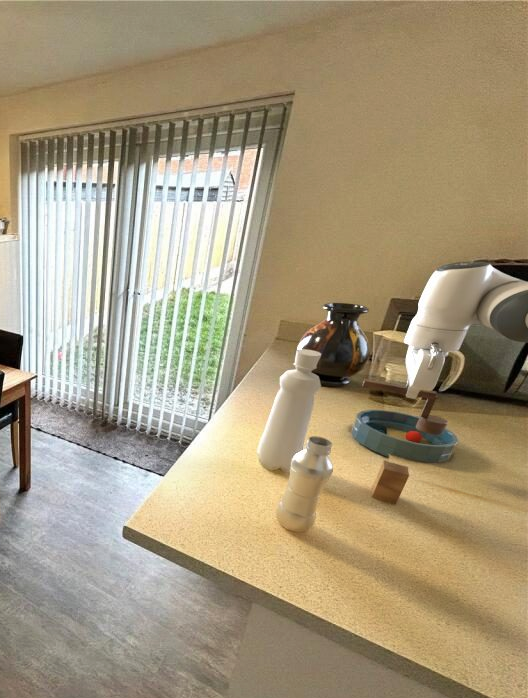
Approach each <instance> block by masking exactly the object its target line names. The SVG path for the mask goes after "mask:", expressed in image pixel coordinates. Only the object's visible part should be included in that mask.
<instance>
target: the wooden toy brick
mask: <svg viewBox="0 0 528 698" xmlns="http://www.w3.org/2000/svg"><path fill="white" fill-rule="evenodd" d="M409 477H410V472H409V467H408V466H406V465H402V464H399V463H395V462H391V461H388V460H384V459H383V460H382V463H381V465H380V468H379V470H378V472H377V474H376V477H375V479H374V481H373V484H372V486H371V498H373V499H376V500H380V501H383V502H386V503H389V504H392V505H397V504H398V501H399V499H400V497H401V494H402V492H403V491H404V489H405V486H406V484H407V481H408V479H409Z"/></svg>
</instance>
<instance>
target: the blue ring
mask: <svg viewBox="0 0 528 698" xmlns="http://www.w3.org/2000/svg"><path fill="white" fill-rule="evenodd" d="M419 417H420V416H415V415H412V414H409V413H404V412H400V411H395V410H387V409H364V410H361V411H359V412H358V413H356V416H355V418H354V420H353V424H352V426H351V429H350V436H352V438H353V439H354V440H355V441H356V442H358V443H359V444H360V445H362V446H364V447H365V448H367V449H369V450H371V451H372V452H375V453H377V454H380V455H381V456H384V457H388V458H390V456H393V457H397V458H401V459H405V460H407V461H415V462H421V463H441V462H446V461H448V460H449V459H450V458H451V457H452V455H453V453H454V451H455V449H456V447H457V446H458V443H459V438H458V436H457V435H456V434H454V433H453V431H451V429H448V428H447V427H446V428H445V430H444V432H443V434H442V435H433V434H428V433H425V432H422V431H420V430H418V429H417V428H416V424H417V422H418V420H419ZM387 429H392V430H395V431H399V432H403V433H408V432H410V431H416V432H419V433H420V434H421V435H422V440H425V441H426V442H427V443H430V444H426V443H420V442H417V443H416V442H411V441H408V440H407V439H401V438H398V437H395V436H392V435H388V430H387Z"/></svg>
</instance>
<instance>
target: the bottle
mask: <svg viewBox="0 0 528 698" xmlns="http://www.w3.org/2000/svg"><path fill="white" fill-rule="evenodd" d="M320 357H321V353H319V352H316V351H313V350H306V349H300V350H297V352H296V358H294V362H293V363H292V365H293V366H294V367H295V369H288V370H286V371H285V372H284V373H283V374H282V375H281V376H280V377H279V387H280V389H279V390H278V391H277V393H276V396H275V398H274V401H273V404H272V407H271V410H270V413H269V416H268V418H267V422H266V425H265V428H264V431H263V433H262V435H261V437H260V438H259V443H258V446H257V450H256V455H257V459H258V462H259V464H260V466H262V467H263V468H264V469H266V470H268V471H270V472H271V471H274V470H277V469H280V470H281V471H282V472H283V473H284V474H290V468H291V461H292V458H293V457H294V456H295V455H296V454H297V453H299V452H300V451H302V450H304V446H305V445H304V444H305V441H306V436H307V433H308V429H309V424H310V421H311V417H312V415H313V414H312V413H313V409H314V406H315V395H316V394H317V393H318V392H319V391H320V389H321V388H322V385H321V383H320V379H319V376H317V375H316V374H314V373H311V371H312V370H313V369H316V368H317V367H316V365H317V363H318V361H319V359H320Z"/></svg>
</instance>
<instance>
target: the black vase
mask: <svg viewBox="0 0 528 698" xmlns="http://www.w3.org/2000/svg"><path fill="white" fill-rule="evenodd" d="M322 309H324V310H326V311H327V316H326V317H325V319H324V320H323V321H321V322H319V323H318V324H316V325H314V326H313V327H311V328H310V329H308V330H307V331H306V332H305V333H304V334H303V335H302V337H300V340H299V341H298V344H297V345H296V348H295V352H294V357H295V358H296V352H297V350H300V349H306V350H313V351H316V352H319V353H321V357H320V359H319V361H318V363H317V365H316V367H317V368H316V369H313V370H312V371H311V373H314V374H316V375H317V376H319V379H320V383H321V386H322V387H323V386H324V387H332V388H333V387H334V388H337V387H346V386H348V385H351V383H352V378H351V377H352V376H355V375H357V374H359V373H360V372H361V371H363V370H364V369H365V368H366V367H367V366H368V362H369V360H370V355H371V345H370V340H369V338H368V336H367V335H366V333H365V331H364V330H363V329H362V327H361V326H360V324H359V318H360V316H361V315H364V314H367V313H370V308H368V307H367V306H364V305H360V304H355V303H346V302H328V303H324V304H323V305H322ZM295 358H294V359H295Z"/></svg>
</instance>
